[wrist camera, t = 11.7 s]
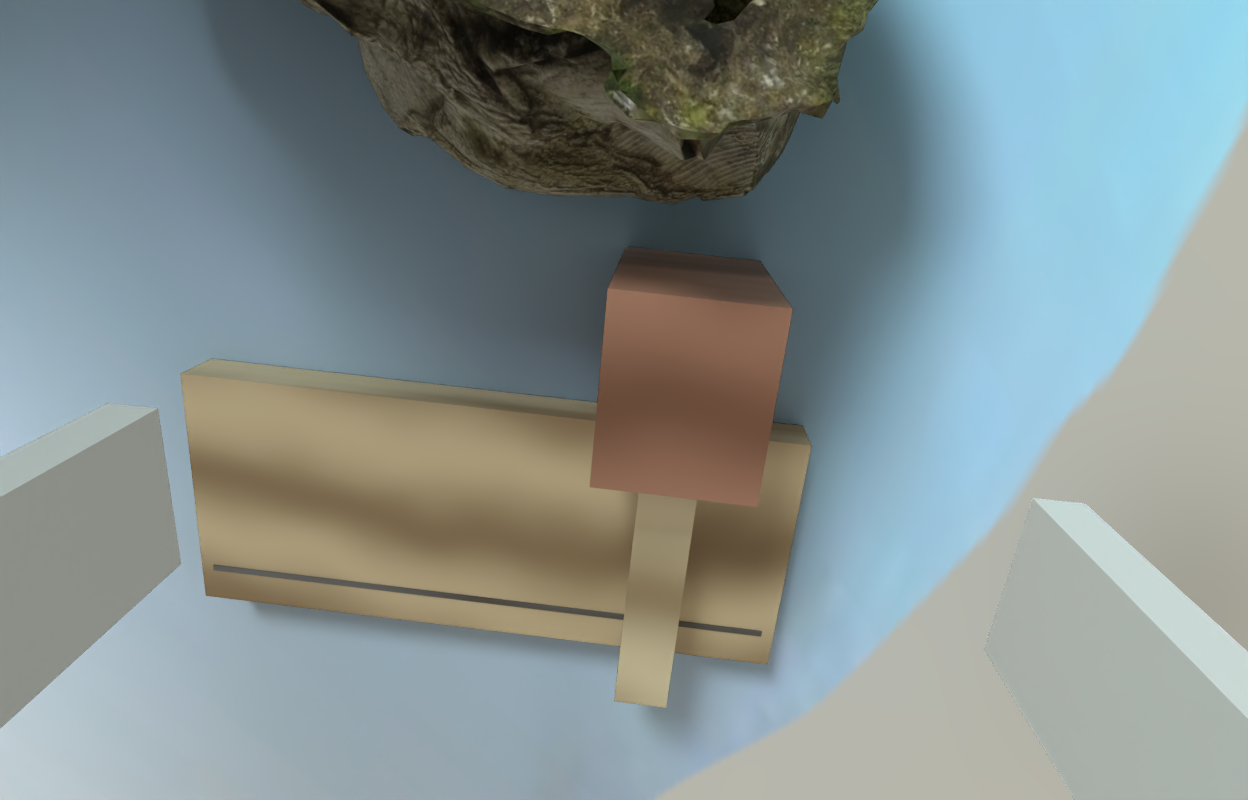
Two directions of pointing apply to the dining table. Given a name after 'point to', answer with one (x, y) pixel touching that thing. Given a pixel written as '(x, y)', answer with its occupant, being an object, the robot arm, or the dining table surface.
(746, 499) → the brown block with handle
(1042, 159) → the dining table surface
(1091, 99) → the dining table surface
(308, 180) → the dining table surface
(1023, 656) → the robot arm
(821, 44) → the hollow geode rock
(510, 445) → the board
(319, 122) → the dining table surface
